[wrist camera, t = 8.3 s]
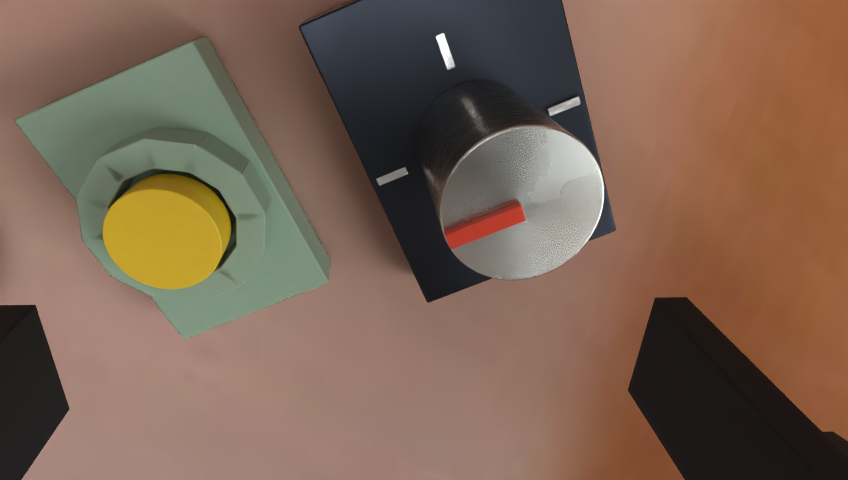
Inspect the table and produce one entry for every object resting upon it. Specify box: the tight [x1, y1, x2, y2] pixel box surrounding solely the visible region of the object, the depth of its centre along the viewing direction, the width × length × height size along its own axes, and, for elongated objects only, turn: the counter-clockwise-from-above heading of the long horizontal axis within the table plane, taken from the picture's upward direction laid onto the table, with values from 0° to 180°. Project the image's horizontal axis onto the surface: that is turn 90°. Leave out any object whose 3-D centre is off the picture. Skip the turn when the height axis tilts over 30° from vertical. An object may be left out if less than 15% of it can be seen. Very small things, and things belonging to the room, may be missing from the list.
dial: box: [417, 80, 604, 280], centre depth 19 cm, size 5×5×8 cm
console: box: [299, 0, 616, 303], centre depth 24 cm, size 14×10×3 cm
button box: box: [14, 36, 331, 339], centre depth 23 cm, size 12×8×4 cm, turn 21°
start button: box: [102, 174, 231, 289], centre depth 21 cm, size 4×4×2 cm
